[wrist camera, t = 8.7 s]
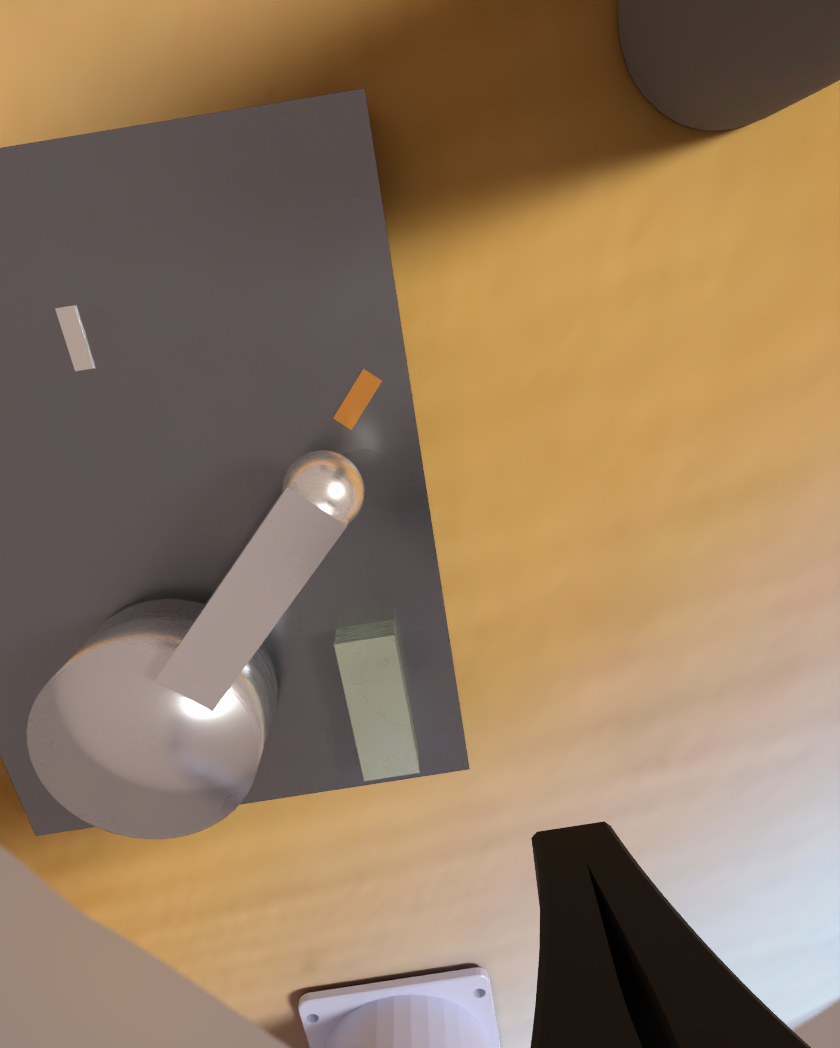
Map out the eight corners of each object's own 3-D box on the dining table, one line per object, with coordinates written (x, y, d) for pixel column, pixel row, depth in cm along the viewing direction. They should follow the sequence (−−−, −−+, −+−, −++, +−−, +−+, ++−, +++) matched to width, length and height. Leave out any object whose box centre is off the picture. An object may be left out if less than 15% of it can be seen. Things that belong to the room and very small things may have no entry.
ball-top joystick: (215, 795, 21) (181, 889, 17) (46, 708, 20) (-27, 790, 16) (439, 500, 18) (450, 544, 15) (258, 375, 17) (224, 391, 13)
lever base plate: (464, 740, 23) (472, 790, 20) (57, 803, 23) (19, 859, 21) (367, 108, 16) (362, 73, 14) (-195, 199, 17) (-293, 180, 14)
